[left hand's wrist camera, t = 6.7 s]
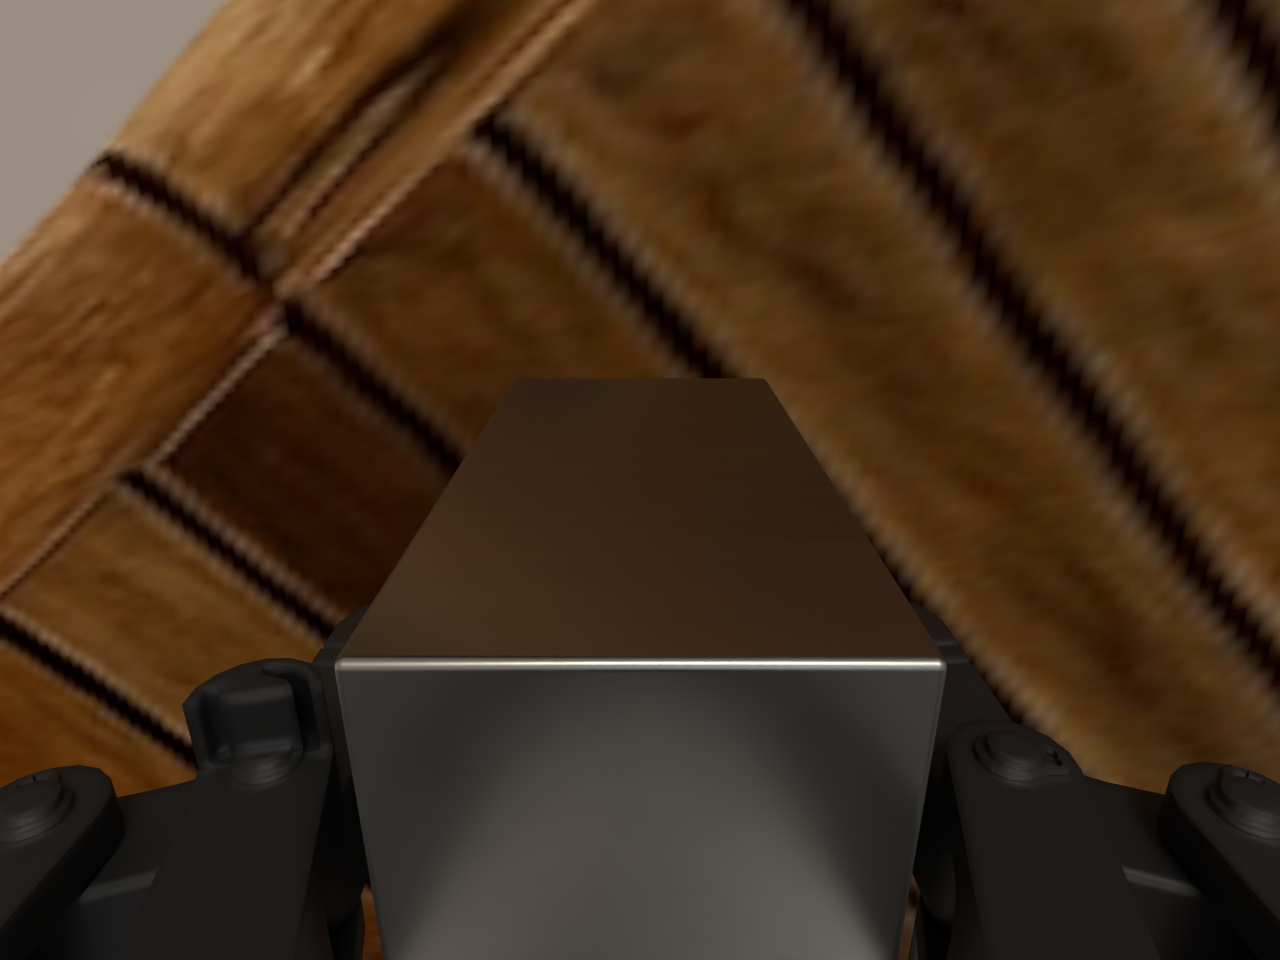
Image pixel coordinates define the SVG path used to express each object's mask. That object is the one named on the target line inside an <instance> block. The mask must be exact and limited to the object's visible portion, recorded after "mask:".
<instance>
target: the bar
mask: <svg viewBox="0 0 1280 960" xmlns="http://www.w3.org/2000/svg"><path fill="white" fill-rule="evenodd" d="M334 668H335V675H336V681H337V687H338V693H339V699H340V705H341V710H342V716H343V722H344V728H345V734H346V740H347V746H348V752H349V758H350V764H351V769H352V775H353V781H354V787H355V793H356V799H357V805H358V811H359V817H360V822H361V828H362V834H363V840H364V846H365V852H366V858H367V864H368V870H369V876H370V881H371V887H372V893H373V899H374V905H375V911H376V917H377V923H378V929H379V934H380V940H381V946H382V952H383V958H384V960H897V958H898V952H899V946H900V940H901V935H902V929H903V923H904V917H905V911H906V905H907V899H908V894H909V888H910V882H911V876H912V870H913V864H914V858H915V852H916V847H917V841H918V835H919V829H920V823H921V817H922V811H923V806H924V800H925V794H926V788H927V782H928V776H929V770H930V764H931V759H932V753H933V747H934V741H935V735H936V729H937V723H938V718H939V712H940V706H941V700H942V694H943V688H944V682H945V677H946V671H947V664H946V661H945V658H944V656H943V655H942V653H941V652H940V650H939V649H938V647H937V646H936V644H935V642H934V641H933V639H932V638H931V636H930V635H929V633H928V632H927V630H926V628H925V627H924V625H923V624H922V622H921V621H920V619H919V618H918V616H917V614H916V613H915V611H914V610H913V608H912V607H911V605H910V604H909V602H908V600H907V599H906V597H905V596H904V594H903V593H902V591H901V590H900V588H899V586H898V585H897V583H896V582H895V580H894V579H893V577H892V576H891V574H890V572H889V571H888V569H887V568H886V566H885V565H884V563H883V562H882V560H881V558H880V557H879V555H878V554H877V552H876V551H875V549H874V548H873V546H872V544H871V543H870V541H869V540H868V538H867V537H866V535H865V534H864V532H863V530H862V529H861V527H860V526H859V524H858V523H857V521H856V520H855V518H854V516H853V515H852V513H851V512H850V510H849V509H848V507H847V506H846V504H845V502H844V501H843V499H842V498H841V496H840V495H839V493H838V492H837V490H836V488H835V487H834V485H833V484H832V482H831V481H830V479H829V478H828V476H827V474H826V473H825V471H824V470H823V468H822V467H821V465H820V464H819V462H818V460H817V459H816V457H815V456H814V454H813V453H812V451H811V450H810V448H809V446H808V445H807V443H806V442H805V440H804V439H803V437H802V436H801V434H800V432H799V431H798V429H797V428H796V426H795V425H794V423H793V422H792V420H791V418H790V417H789V415H788V414H787V412H786V411H785V409H784V408H783V406H782V404H781V403H780V401H779V400H778V398H777V397H776V395H775V394H774V392H773V390H772V389H771V387H770V386H769V384H768V383H767V381H766V380H765V379H516V380H514V382H513V383H512V385H511V386H510V388H509V389H508V391H507V393H506V394H505V396H504V397H503V399H502V400H501V402H500V404H499V405H498V407H497V408H496V410H495V411H494V413H493V414H492V416H491V418H490V419H489V421H488V422H487V424H486V425H485V427H484V429H483V430H482V432H481V433H480V435H479V436H478V438H477V440H476V441H475V443H474V444H473V446H472V447H471V449H470V450H469V452H468V454H467V455H466V457H465V458H464V460H463V461H462V463H461V465H460V466H459V468H458V469H457V471H456V472H455V474H454V475H453V477H452V479H451V480H450V482H449V483H448V485H447V486H446V488H445V490H444V491H443V493H442V494H441V496H440V497H439V499H438V500H437V502H436V504H435V505H434V507H433V508H432V510H431V511H430V513H429V515H428V516H427V518H426V519H425V521H424V522H423V524H422V526H421V527H420V529H419V530H418V532H417V533H416V535H415V536H414V538H413V540H412V541H411V543H410V544H409V546H408V547H407V549H406V551H405V552H404V554H403V555H402V557H401V558H400V560H399V561H398V563H397V565H396V566H395V568H394V569H393V571H392V572H391V574H390V576H389V577H388V579H387V580H386V582H385V583H384V585H383V586H382V588H381V590H380V591H379V593H378V594H377V596H376V597H375V599H374V601H373V602H372V604H371V605H370V607H369V608H368V610H367V611H366V613H365V615H364V616H363V618H362V619H361V621H360V622H359V624H358V626H357V627H356V629H355V630H354V632H353V633H352V635H351V637H350V638H349V640H348V641H347V643H346V644H345V646H344V647H343V649H342V651H341V652H340V654H339V655H338V657H337V659H336V662H335V665H334Z"/></svg>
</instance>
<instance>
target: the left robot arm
mask: <svg viewBox="0 0 1280 960" xmlns="http://www.w3.org/2000/svg"><path fill="white" fill-rule="evenodd" d="M909 604H910V605H911V607H912V608H913V610H914V611H915V613H916V614H917V616H918V618H919V619H920V621H921V622H922V624H923V625H924V627H925V628H926V630H927V632H928V633H929V635H930V636H931V638H932V639H933V641H934V642H935V644H936V646H937V647H938V649H939V650H940V652H941V653H942V655H943V656H944V658H945V661H946V664H947V671H946V677H945V682H944V688H943V694H942V700H941V706H940V712H939V718H938V723H937V729H936V735H935V741H934V747H933V753H932V759H931V764H930V770H929V776H928V782H927V788H926V794H925V800H924V806H923V811H922V817H921V823H920V829H919V835H918V841H917V847H916V852H915V858H914V864H913V870H912V873H913V875H914V878H915V881H916V883H917V886H918V888H919V891H920V896H919V902H918V907H917V913H916V919H915V924H914V930H913V936H912V941H911V947H910V952H909V958H908V960H1280V784H1279V783H1277V782H1275V781H1273V780H1271V779H1269V778H1267V777H1265V776H1263V775H1261V774H1258V773H1255V772H1252V771H1250V770H1245V769H1243V768H1238V767H1235V766H1232V765H1226V764H1217V763H1209V762H1199V763H1193V764H1187V765H1182V766H1181V767H1180V768H1179V769H1178V770H1176V771H1175V772H1174V773H1173V774H1172V775H1171V776H1170V780H1169V783H1168V786H1167V789H1166V792H1165V795H1163V794H1159V793H1154V792H1150V791H1145V790H1140V789H1136V788H1131V787H1127V786H1122V785H1118V784H1113V783H1109V782H1105V781H1101V780H1098V779H1094V778H1091V777H1087V776H1084V775H1083V773H1082V771H1081V769H1080V767H1079V766H1078V764H1077V763H1076V762H1075V760H1074V759H1073V757H1072V756H1071V754H1070V753H1069V752H1068V751H1067V750H1065V749H1064V748H1063V747H1061V746H1060V745H1059V744H1058V743H1056V742H1055V741H1054V740H1052V739H1051V738H1050V737H1048V736H1046V735H1044V734H1042V733H1039V732H1037V731H1035V730H1033V729H1031V728H1029V727H1027V726H1024V725H1020V724H1016V723H1013V722H1012V721H1011V719H1010V718H1009V716H1008V715H1007V713H1006V712H1005V711H1004V709H1003V708H1002V706H1001V705H1000V703H999V702H998V700H997V699H996V697H995V696H994V695H993V693H992V692H991V690H990V689H989V687H988V686H987V684H986V683H985V682H984V680H983V679H982V677H981V676H980V674H979V673H978V671H977V670H976V669H975V667H974V666H973V664H970V663H969V658H968V657H967V656H966V654H965V653H964V651H963V650H962V648H961V647H960V646H957V641H956V640H955V638H954V637H953V635H952V634H951V632H950V631H949V630H948V628H947V627H946V625H945V624H944V622H943V621H942V620H941V619H939V618H938V617H936V616H935V615H934V614H932V613H931V612H929V611H928V610H926V609H925V608H923V607H922V606H921V605H919V604H918V603H916V602H909ZM369 607H370V605H364V606H362V607H361V608H360V609H358V610H357V611H355V612H354V613H352V614H351V615H349V616H348V617H347V618H345V619H344V620H342V621H341V622H339V623H338V625H337V626H336V628H335V629H334V630H333V632H332V633H331V635H330V636H329V638H328V639H327V641H326V642H325V644H324V649H320V651H319V652H318V654H317V655H316V657H315V658H314V660H313V661H312V665H311V664H310V663H308V662H304V661H300V660H296V659H292V658H277V659H264V660H259V661H254V662H250V663H245V664H241V665H238V666H236V667H234V668H231V669H229V670H226V671H224V672H221V673H219V674H217V675H215V676H213V677H212V678H210V679H209V680H207V681H206V682H204V683H203V684H201V685H200V686H199V687H197V688H196V689H195V690H194V691H193V692H192V693H191V694H190V696H189V697H188V698H187V699H186V700H185V702H184V703H183V704H182V706H183V710H184V714H185V717H186V721H187V725H188V729H189V733H190V737H191V741H192V744H193V748H194V752H195V756H196V760H197V764H198V768H199V772H198V774H197V777H196V779H194V780H191V781H188V782H184V783H181V784H177V785H173V786H169V787H164V788H160V789H155V790H150V791H146V792H141V793H137V794H132V795H128V796H123V797H119V798H117V797H116V793H115V790H114V787H113V784H112V781H111V778H110V777H108V776H107V775H106V774H105V773H104V772H103V771H102V770H100V769H99V768H93V767H87V766H81V765H75V766H67V767H58V768H51V769H48V770H44V771H41V772H37V773H35V774H31V775H28V776H25V777H22V778H20V779H18V780H16V781H14V782H12V783H10V784H8V785H6V786H4V787H2V788H0V960H362V954H363V945H364V936H365V921H364V914H363V907H362V902H361V893H362V891H363V888H364V886H365V883H366V881H367V878H368V876H369V870H368V864H367V858H366V852H365V846H364V840H363V834H362V828H361V822H360V817H359V811H358V805H357V799H356V793H355V787H354V781H353V775H352V769H351V764H350V758H349V752H348V746H347V740H346V734H345V728H344V722H343V716H342V710H341V705H340V699H339V693H338V687H337V681H336V675H335V668H334V665H335V662H336V659H337V657H338V655H339V654H340V652H341V651H342V649H343V647H344V646H345V644H346V643H347V641H348V640H349V638H350V637H351V635H352V633H353V632H354V630H355V629H356V627H357V626H358V624H359V622H360V621H361V619H362V618H363V616H364V615H365V613H366V611H367V610H368V608H369Z"/></svg>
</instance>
